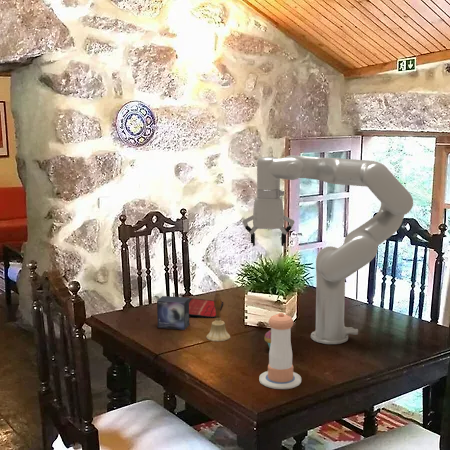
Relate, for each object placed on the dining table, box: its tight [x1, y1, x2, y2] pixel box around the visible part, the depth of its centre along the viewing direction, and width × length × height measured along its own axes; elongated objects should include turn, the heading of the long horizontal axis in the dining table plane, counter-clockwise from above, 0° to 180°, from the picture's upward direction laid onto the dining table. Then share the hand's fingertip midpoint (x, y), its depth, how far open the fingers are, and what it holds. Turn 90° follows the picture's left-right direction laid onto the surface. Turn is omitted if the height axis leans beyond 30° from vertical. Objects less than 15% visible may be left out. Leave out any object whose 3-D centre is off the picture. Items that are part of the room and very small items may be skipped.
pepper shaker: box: [267, 312, 294, 382], centre depth 180 cm, size 7×7×19 cm
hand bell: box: [205, 291, 231, 342], centre depth 217 cm, size 8×8×16 cm
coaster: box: [258, 370, 302, 390], centre depth 182 cm, size 12×12×1 cm
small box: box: [156, 295, 191, 331], centre depth 229 cm, size 11×6×10 cm, turn 76°
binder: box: [188, 297, 224, 319], centre depth 250 cm, size 16×2×21 cm
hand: (268, 245), depth 212 cm, fingers open, 9 cm apart
